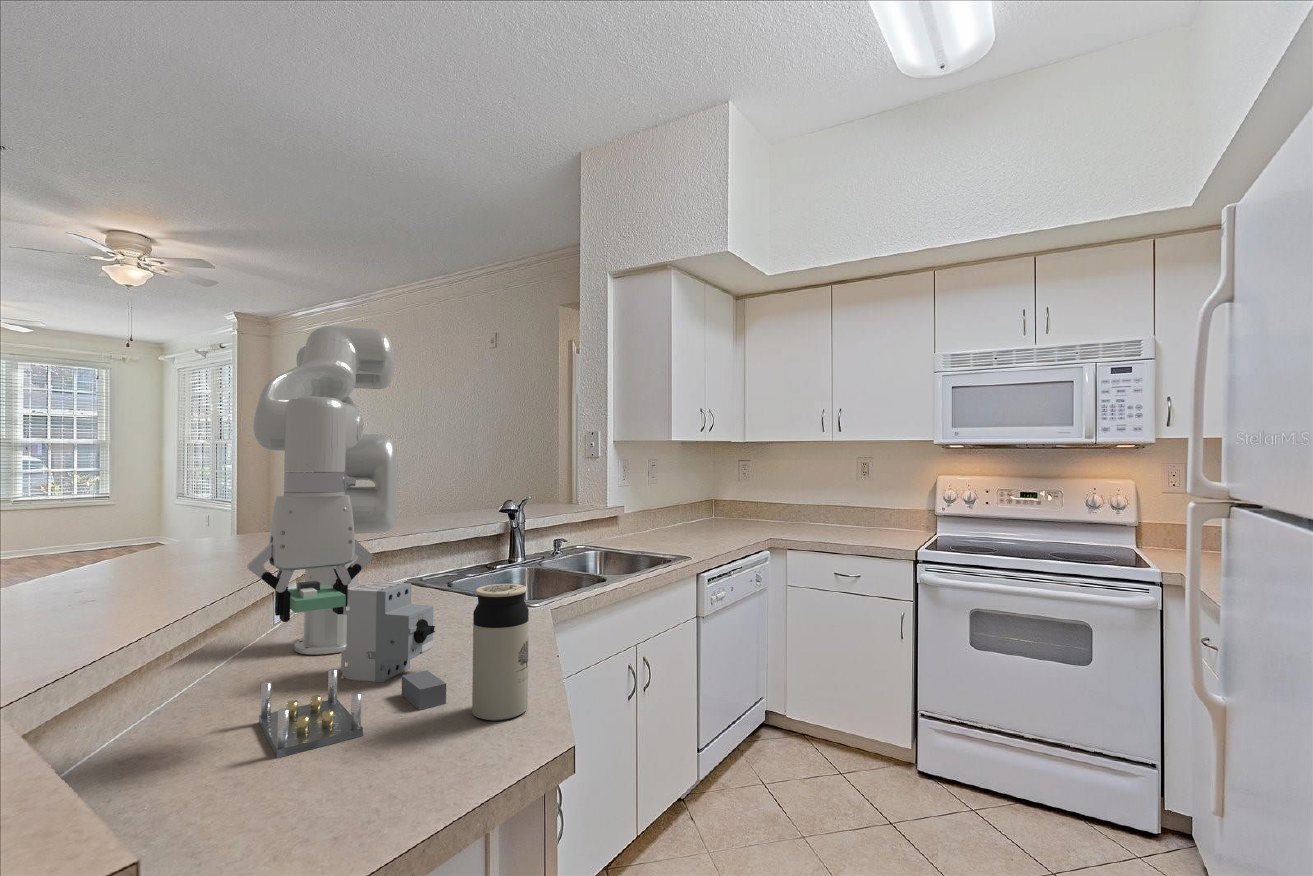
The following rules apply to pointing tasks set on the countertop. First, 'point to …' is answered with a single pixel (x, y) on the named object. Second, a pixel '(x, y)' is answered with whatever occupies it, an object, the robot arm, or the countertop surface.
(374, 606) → the circuit breaker
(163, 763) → the countertop surface
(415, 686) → the block
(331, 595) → the board
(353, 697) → the chassis
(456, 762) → the countertop surface
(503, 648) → the travel mug
